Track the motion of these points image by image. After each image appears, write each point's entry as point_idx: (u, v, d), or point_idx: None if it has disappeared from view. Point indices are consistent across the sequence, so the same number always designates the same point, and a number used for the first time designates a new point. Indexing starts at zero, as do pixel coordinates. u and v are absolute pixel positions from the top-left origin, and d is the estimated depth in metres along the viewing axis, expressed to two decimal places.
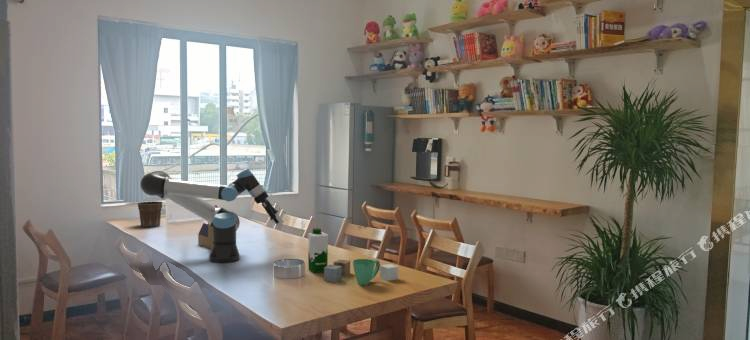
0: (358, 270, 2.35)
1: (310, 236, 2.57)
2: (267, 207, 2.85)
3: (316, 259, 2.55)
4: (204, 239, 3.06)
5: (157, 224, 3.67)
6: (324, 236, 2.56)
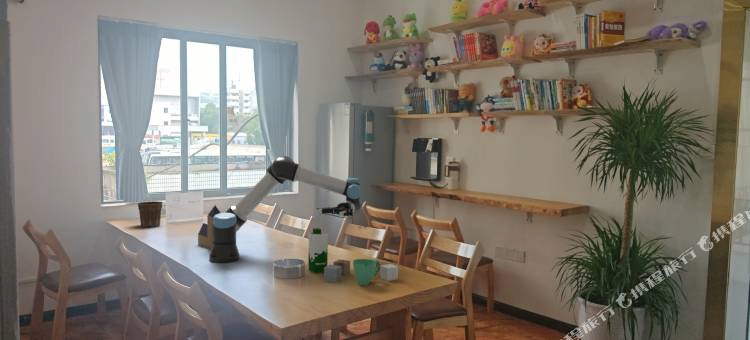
0: (358, 270, 2.35)
1: (310, 236, 2.57)
2: None
3: (316, 259, 2.55)
4: (204, 239, 3.06)
5: (157, 224, 3.67)
6: (324, 236, 2.56)
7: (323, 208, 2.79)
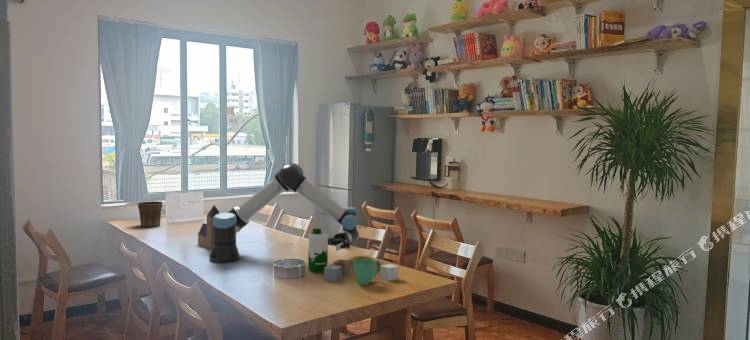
0: (358, 270, 2.35)
1: (310, 236, 2.57)
2: None
3: (316, 259, 2.55)
4: (203, 239, 3.06)
5: (157, 224, 3.67)
6: (324, 236, 2.56)
7: None
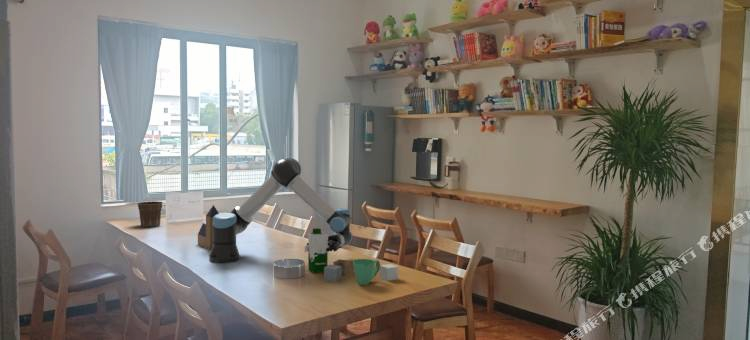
0: (358, 270, 2.35)
1: (310, 236, 2.57)
2: (338, 246, 2.65)
3: (316, 259, 2.55)
4: (203, 239, 3.06)
5: (157, 224, 3.67)
6: (324, 236, 2.56)
7: None
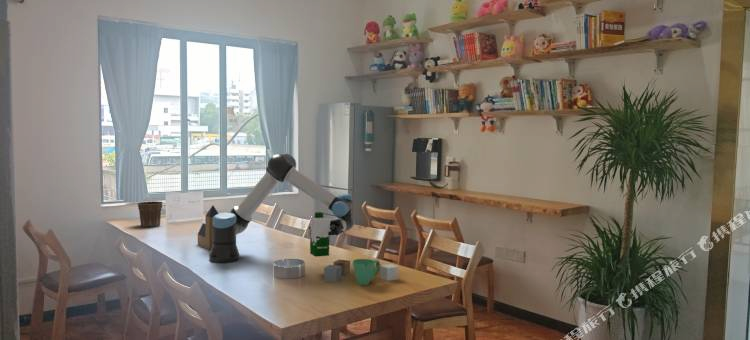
0: (358, 270, 2.35)
1: (312, 220, 2.56)
2: (340, 231, 2.64)
3: (318, 242, 2.54)
4: (202, 239, 3.06)
5: (157, 224, 3.67)
6: (326, 220, 2.55)
7: None
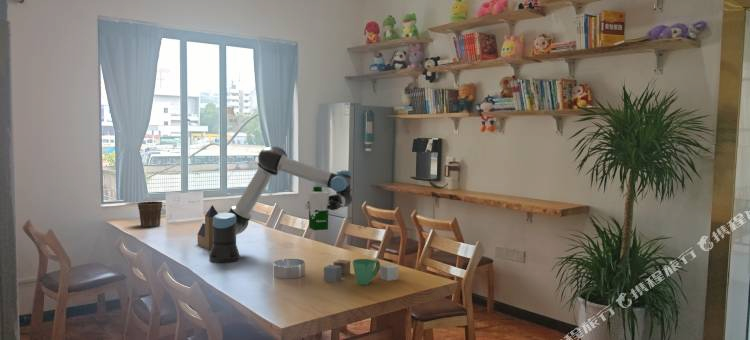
0: (358, 270, 2.35)
1: (311, 193, 2.55)
2: (339, 205, 2.63)
3: (317, 216, 2.53)
4: (202, 239, 3.06)
5: (157, 224, 3.67)
6: (325, 193, 2.54)
7: None
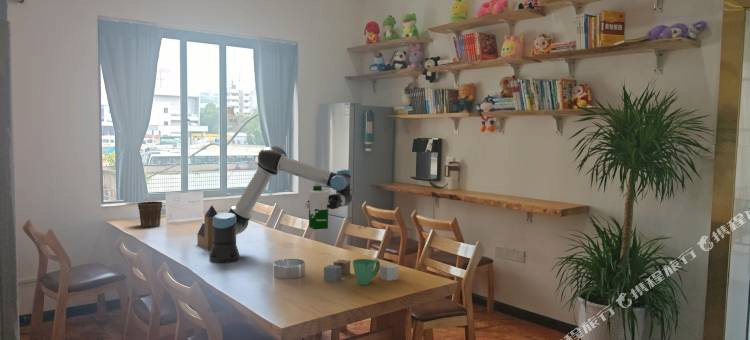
0: (358, 270, 2.35)
1: (310, 192, 2.55)
2: (339, 204, 2.63)
3: (317, 215, 2.53)
4: (202, 239, 3.06)
5: (157, 224, 3.67)
6: (325, 192, 2.54)
7: None
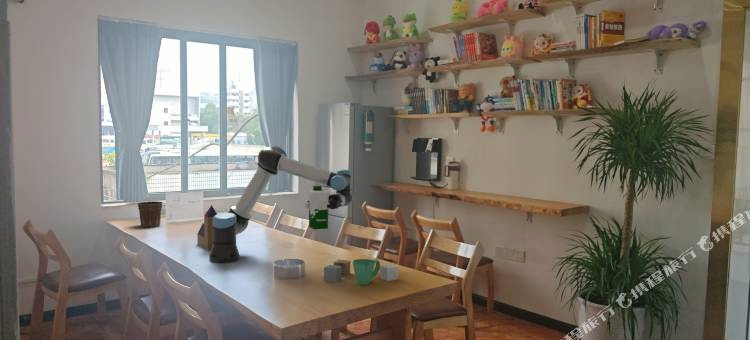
0: (358, 270, 2.35)
1: (310, 192, 2.55)
2: (339, 204, 2.63)
3: (317, 215, 2.53)
4: (201, 239, 3.06)
5: (157, 224, 3.67)
6: (325, 192, 2.54)
7: None
